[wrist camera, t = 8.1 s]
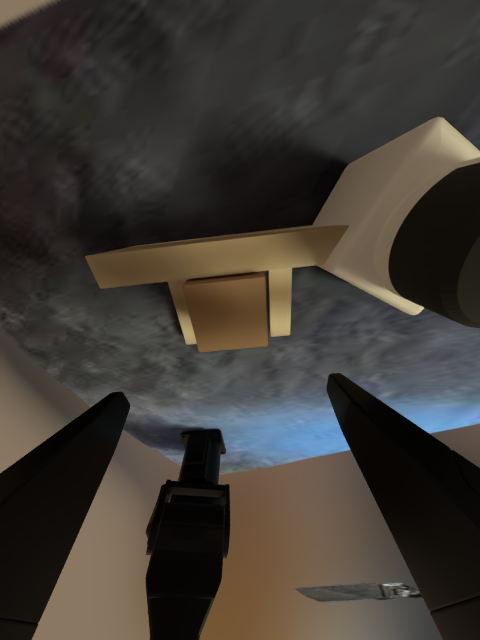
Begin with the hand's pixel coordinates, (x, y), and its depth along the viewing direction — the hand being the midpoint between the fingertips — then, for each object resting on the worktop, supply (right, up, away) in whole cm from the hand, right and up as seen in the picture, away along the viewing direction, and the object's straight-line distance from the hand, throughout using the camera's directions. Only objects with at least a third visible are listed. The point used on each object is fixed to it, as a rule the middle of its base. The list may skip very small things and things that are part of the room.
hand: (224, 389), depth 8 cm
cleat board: (0, +6, +10) cm, 12 cm away
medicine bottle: (+10, +11, +8) cm, 17 cm away
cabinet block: (0, +6, +9) cm, 11 cm away
